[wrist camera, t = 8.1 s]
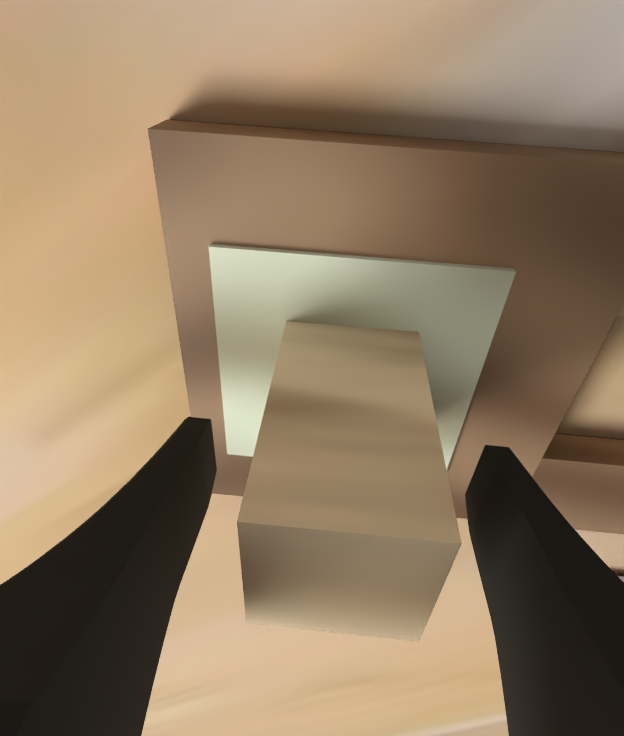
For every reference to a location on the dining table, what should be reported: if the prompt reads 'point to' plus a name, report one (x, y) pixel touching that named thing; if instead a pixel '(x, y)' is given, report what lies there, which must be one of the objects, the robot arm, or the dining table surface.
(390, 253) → the pocket board
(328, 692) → the dining table surface
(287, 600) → the maple block
